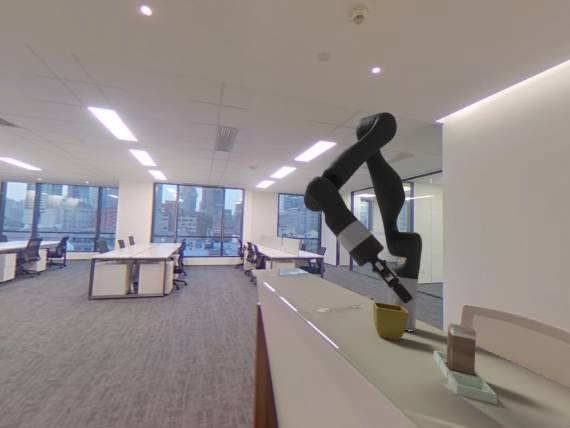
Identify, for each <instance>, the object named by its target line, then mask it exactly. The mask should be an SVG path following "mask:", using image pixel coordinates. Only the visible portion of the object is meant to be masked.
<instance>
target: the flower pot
mask: <svg viewBox="0 0 570 428" xmlns="http://www.w3.org/2000/svg"><path fill="white" fill-rule="evenodd" d="M372 304H373V305H372V308H373V309H372V312H373V324H374V326H375V331H376V332H377V335H378V337H379V338H383V339H387V340H388V339H389V340H394V341H400V340H401V338H403V335H404V333H405V332H406V331H405V329H406V324H407V319H408V314H409V312H408V311H407V310H406V309H404V308H403V307H402V306H397V305H391V304H388V303H383V302H377V301H373V302H372Z"/></svg>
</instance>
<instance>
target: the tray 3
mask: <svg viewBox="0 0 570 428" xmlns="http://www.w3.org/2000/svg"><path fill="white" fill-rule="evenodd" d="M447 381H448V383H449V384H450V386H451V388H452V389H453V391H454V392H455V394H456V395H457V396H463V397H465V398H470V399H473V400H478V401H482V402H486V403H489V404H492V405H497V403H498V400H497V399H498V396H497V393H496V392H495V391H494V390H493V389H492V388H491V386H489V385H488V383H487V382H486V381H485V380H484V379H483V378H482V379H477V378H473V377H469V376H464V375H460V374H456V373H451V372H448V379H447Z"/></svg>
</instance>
